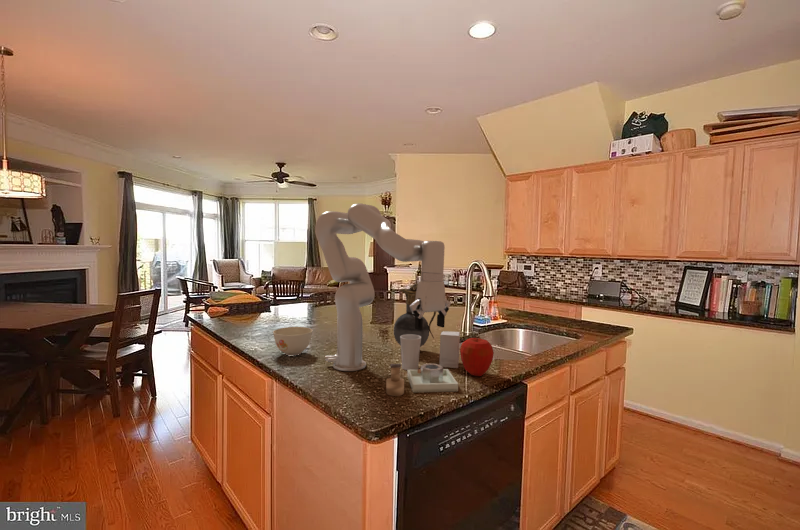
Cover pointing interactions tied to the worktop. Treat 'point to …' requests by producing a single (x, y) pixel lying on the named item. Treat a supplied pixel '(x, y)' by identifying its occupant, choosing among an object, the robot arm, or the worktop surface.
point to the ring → (431, 373)
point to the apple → (476, 355)
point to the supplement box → (449, 349)
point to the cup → (410, 351)
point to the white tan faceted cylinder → (395, 381)
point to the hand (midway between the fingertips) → (429, 328)
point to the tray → (418, 386)
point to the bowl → (292, 339)
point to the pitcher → (411, 320)
